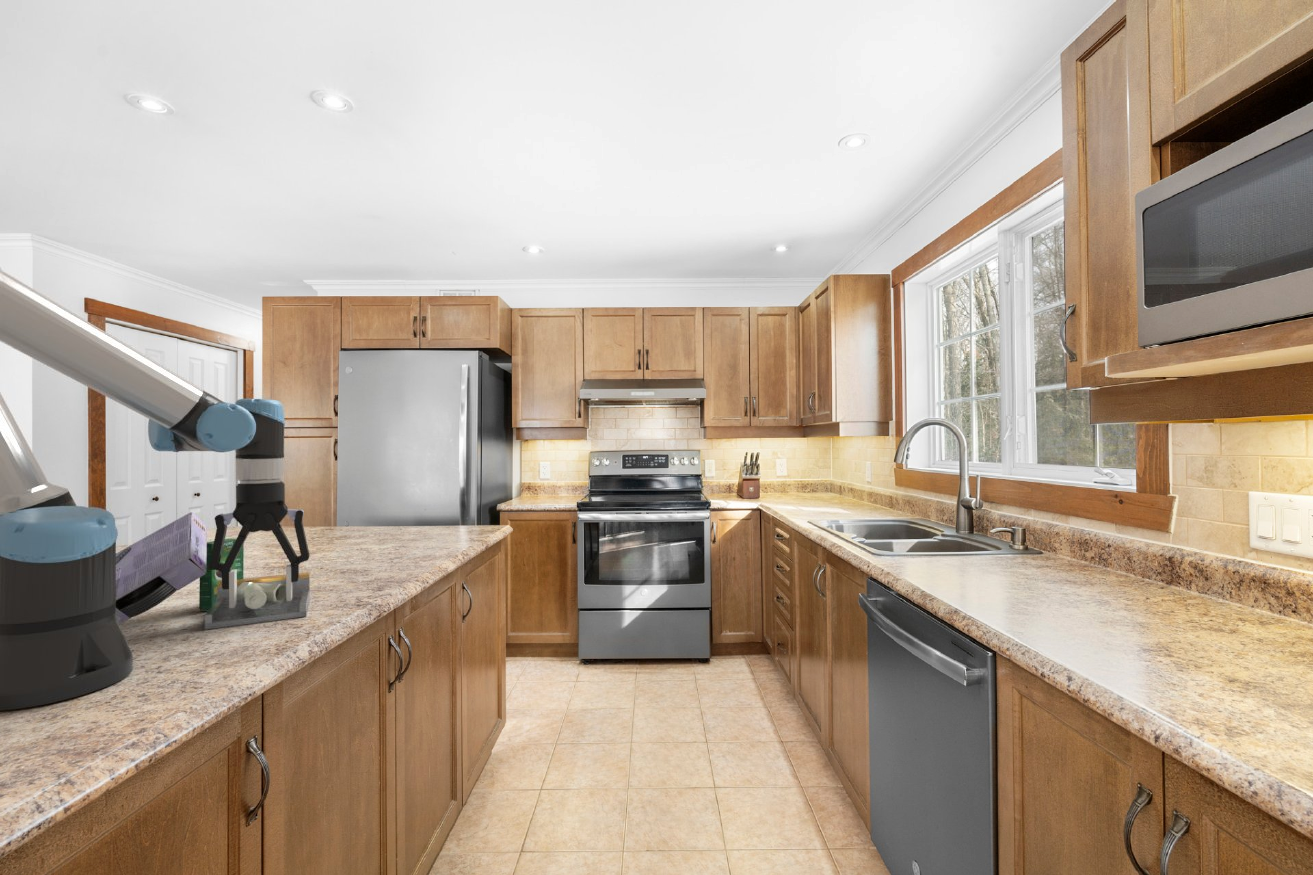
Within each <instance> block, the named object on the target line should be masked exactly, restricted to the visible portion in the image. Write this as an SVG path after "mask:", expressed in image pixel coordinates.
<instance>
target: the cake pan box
mask: <svg viewBox="0 0 1313 875" xmlns="http://www.w3.org/2000/svg"><path fill="white" fill-rule="evenodd" d="M207 530H208V526H207V525H206V524H205V523H204V522H203V521H202V520H201V519H200V518H199V517H198V516H197V515H196V514H195V513H194V512H188V513H186V514H184V515H183V516H181V517H179V518H177V519H175V520H174V521H172V522H170V523H168V524H167V525H165V526H163V527H161V528H159V529H157V530H156V531H153V532H152V533H150V534H148V535H146V536H145V537H143V538H141V539H139V540H138V541H136V542H134V543H133V544H130V545H129V546H127V547H125V548H123V549H121V550H120V551H117V552H116V620H117V622H118V624H119V626H120V625H122V624H123V623H125V622H127V621H129V620H130V619H132V618H134V617H137V616H140V615H141V614H144V613H145V612H148V611H149V610H151V609H153V608H155V607H157V606H158V605H159V604H161V603H163V602H164V601H165V600H167V599H168V598H170V597H171V596H172V595H173V594H174V593H177V591H180V590H182V589H183V588H185V587H186V586H188V585H190V584H192V583H193V582H194V581H196V580H198V579H200V577H201V576H203V575H205V574H206V557H207V539H208V538H207V537H208V536H207V535H208V532H207Z"/></svg>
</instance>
